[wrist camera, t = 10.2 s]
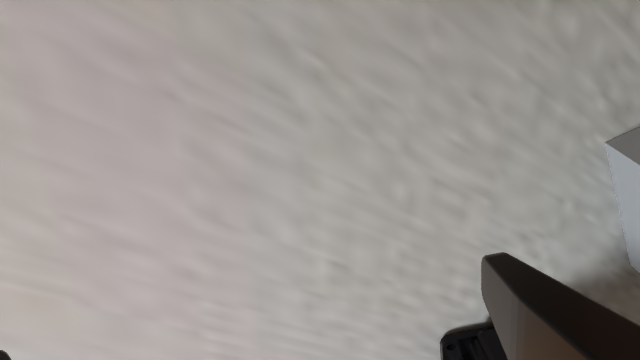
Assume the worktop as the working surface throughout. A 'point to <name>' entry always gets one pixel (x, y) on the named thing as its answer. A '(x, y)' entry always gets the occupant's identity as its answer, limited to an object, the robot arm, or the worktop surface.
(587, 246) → the worktop surface
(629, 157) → the slate-grey brick
